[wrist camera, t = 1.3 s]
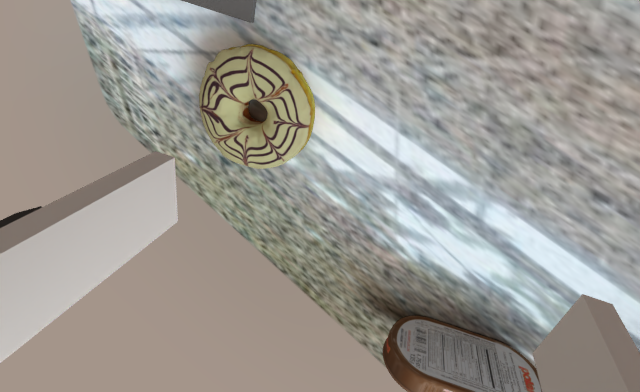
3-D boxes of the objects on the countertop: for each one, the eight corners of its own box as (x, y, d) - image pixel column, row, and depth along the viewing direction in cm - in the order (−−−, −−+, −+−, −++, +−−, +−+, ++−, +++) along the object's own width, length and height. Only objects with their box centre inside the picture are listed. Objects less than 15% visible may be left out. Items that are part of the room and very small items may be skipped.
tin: (387, 320, 39) (376, 388, 32) (394, 300, 38) (384, 367, 31) (526, 367, 37) (548, 452, 29) (539, 348, 35) (566, 433, 28)
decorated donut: (194, 91, 33) (168, 98, 30) (270, 15, 28) (248, 15, 25) (259, 176, 36) (242, 192, 32) (341, 121, 30) (330, 133, 27)
